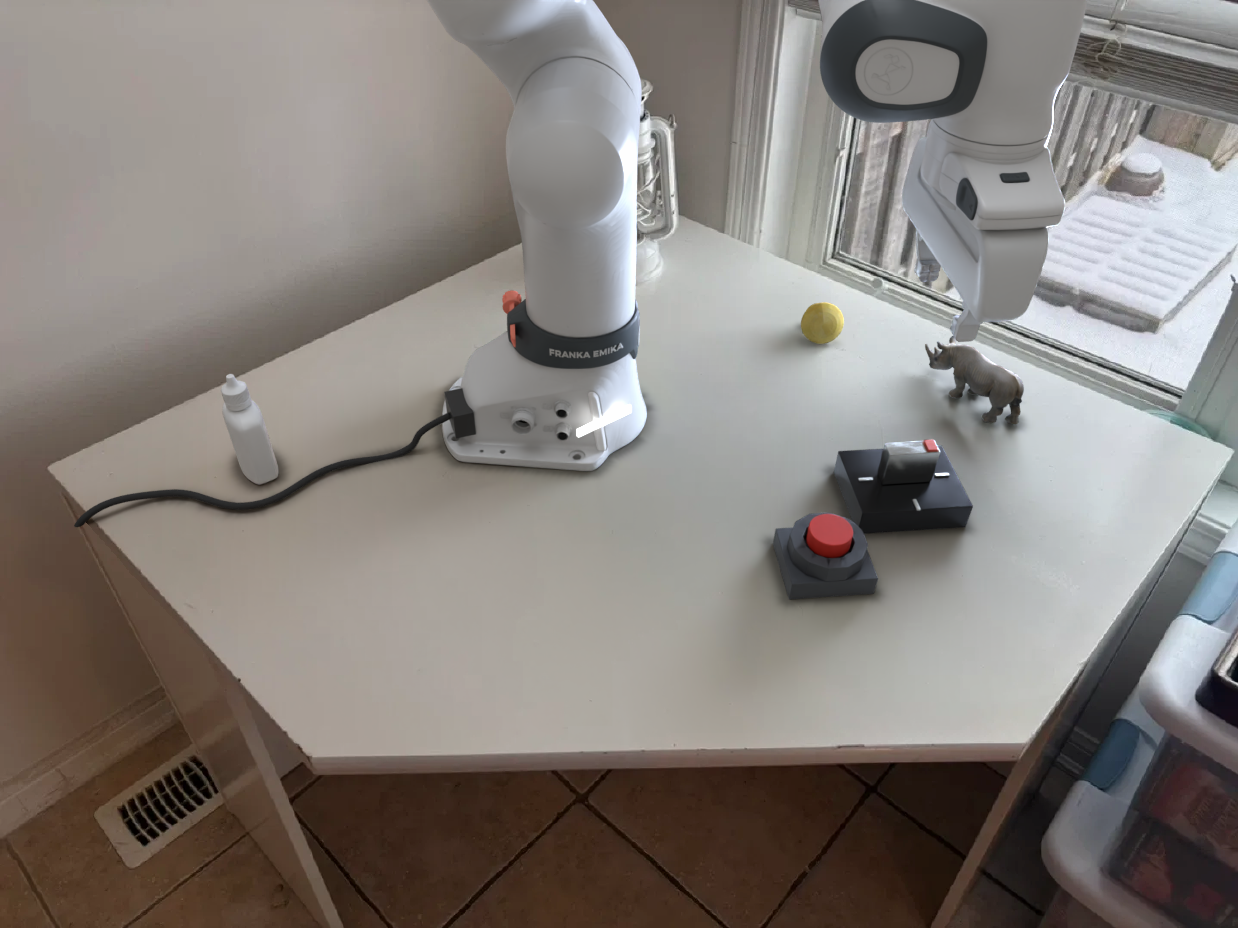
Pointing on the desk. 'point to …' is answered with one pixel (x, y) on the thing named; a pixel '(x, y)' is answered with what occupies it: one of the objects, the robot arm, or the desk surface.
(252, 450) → the eye dropper bottle
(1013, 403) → the rhino figurine
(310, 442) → the desk surface
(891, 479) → the knob
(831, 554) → the button
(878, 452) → the hob panel
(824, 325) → the knob
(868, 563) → the igniter
